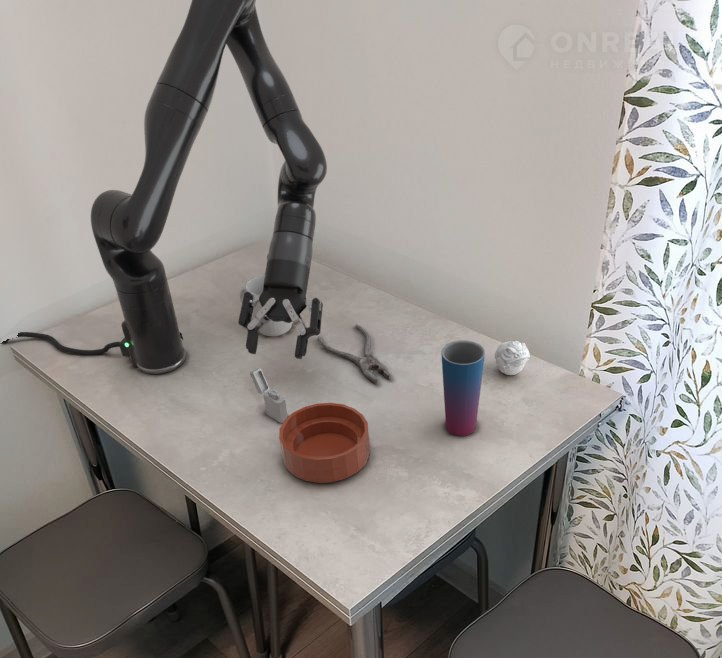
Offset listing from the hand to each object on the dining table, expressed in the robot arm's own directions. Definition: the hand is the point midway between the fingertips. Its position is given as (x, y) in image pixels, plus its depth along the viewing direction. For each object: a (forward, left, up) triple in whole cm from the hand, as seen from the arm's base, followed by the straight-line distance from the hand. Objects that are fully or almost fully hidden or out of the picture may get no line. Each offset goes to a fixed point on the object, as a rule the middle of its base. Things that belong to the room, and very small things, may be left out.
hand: (274, 355), depth 140 cm
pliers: (+11, +16, -9) cm, 22 cm away
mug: (-11, +22, -9) cm, 27 cm away
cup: (+33, -2, -9) cm, 34 cm away
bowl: (+13, -14, -9) cm, 21 cm away
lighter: (0, -5, -9) cm, 10 cm away
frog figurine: (+39, +15, -9) cm, 43 cm away
